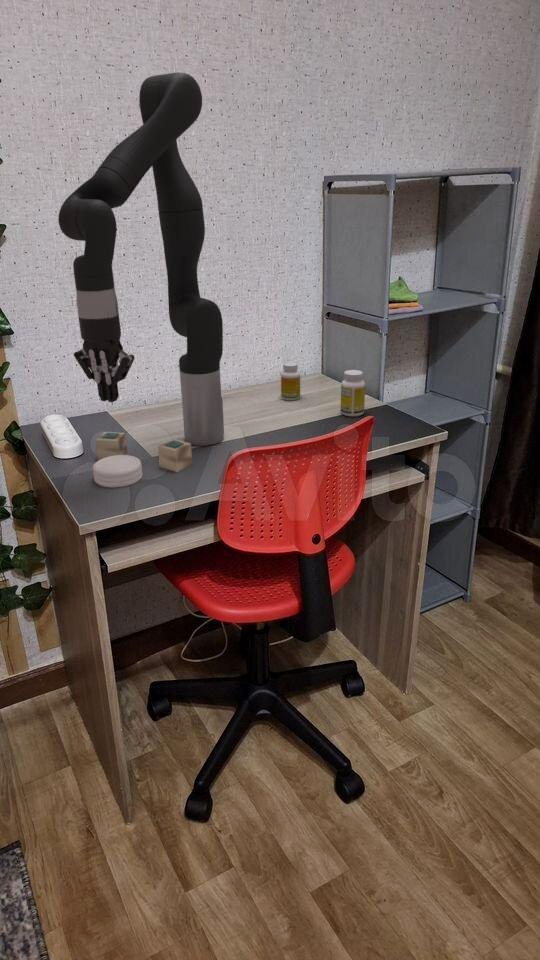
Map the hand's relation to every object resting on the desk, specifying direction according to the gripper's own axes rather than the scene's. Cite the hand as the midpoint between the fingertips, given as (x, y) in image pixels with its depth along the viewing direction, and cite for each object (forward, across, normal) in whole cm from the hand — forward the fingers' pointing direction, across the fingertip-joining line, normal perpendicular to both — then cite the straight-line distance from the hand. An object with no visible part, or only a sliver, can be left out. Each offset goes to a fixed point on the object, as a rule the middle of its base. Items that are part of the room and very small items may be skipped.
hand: (109, 400), depth 135 cm
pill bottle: (+17, -33, -57) cm, 68 cm away
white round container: (+18, 0, 0) cm, 18 cm away
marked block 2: (+17, -8, -10) cm, 21 cm away
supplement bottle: (+17, -13, -63) cm, 67 cm away
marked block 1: (+17, +8, -9) cm, 21 cm away
